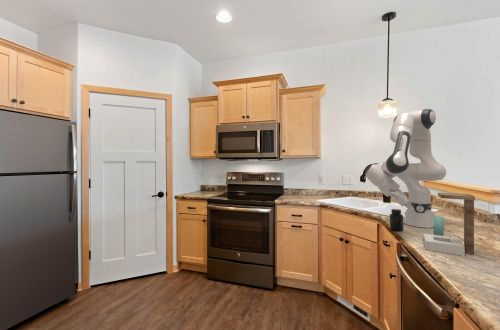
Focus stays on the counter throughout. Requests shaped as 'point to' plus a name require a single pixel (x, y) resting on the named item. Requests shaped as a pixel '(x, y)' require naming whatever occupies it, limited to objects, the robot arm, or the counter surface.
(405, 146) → the robot arm
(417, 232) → the counter surface
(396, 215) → the supplement bottle
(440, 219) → the peg
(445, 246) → the socket
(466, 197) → the brown wooden overhang stand
